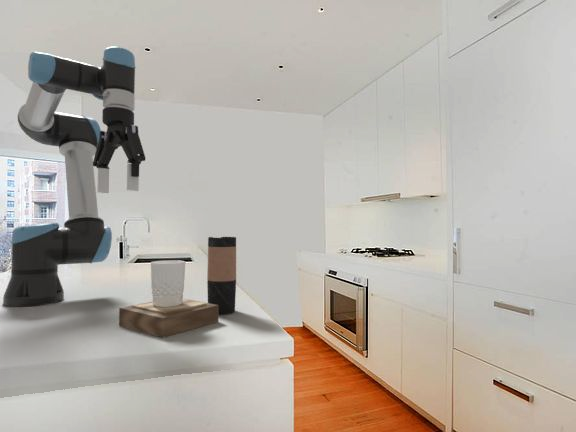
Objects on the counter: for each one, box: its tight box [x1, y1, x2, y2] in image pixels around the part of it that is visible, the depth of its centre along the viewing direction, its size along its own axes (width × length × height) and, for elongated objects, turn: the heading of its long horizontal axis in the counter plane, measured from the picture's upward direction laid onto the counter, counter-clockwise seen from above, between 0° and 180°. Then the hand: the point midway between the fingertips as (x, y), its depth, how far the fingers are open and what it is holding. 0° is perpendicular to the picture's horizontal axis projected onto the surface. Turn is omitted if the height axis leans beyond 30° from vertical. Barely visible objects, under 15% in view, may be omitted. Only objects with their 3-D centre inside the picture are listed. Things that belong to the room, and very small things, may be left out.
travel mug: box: [206, 236, 237, 316], centre depth 104 cm, size 8×8×20 cm
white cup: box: [150, 260, 186, 307], centre depth 91 cm, size 8×8×10 cm
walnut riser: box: [118, 298, 220, 338], centre depth 91 cm, size 16×16×4 cm
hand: (117, 191), depth 99 cm, fingers open, 13 cm apart
